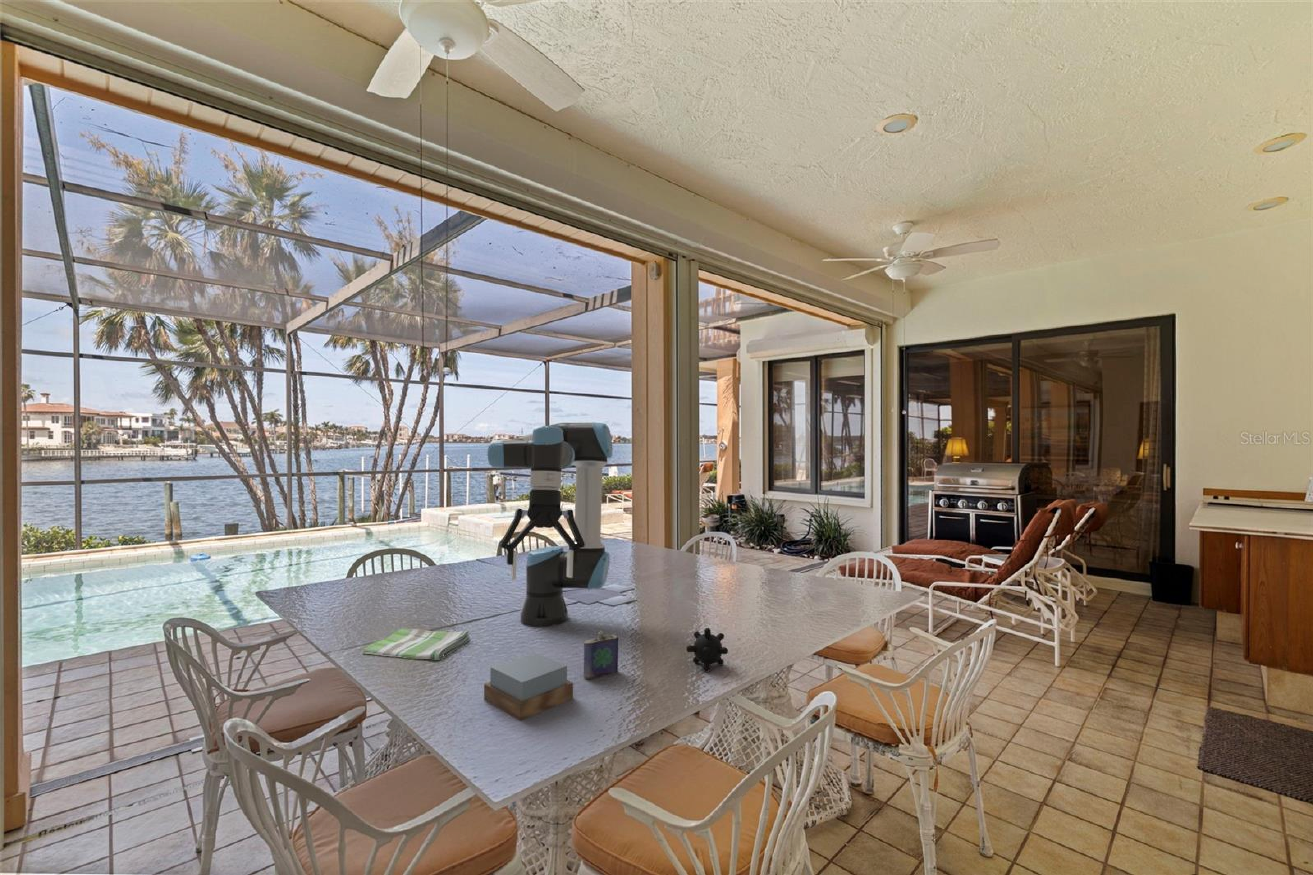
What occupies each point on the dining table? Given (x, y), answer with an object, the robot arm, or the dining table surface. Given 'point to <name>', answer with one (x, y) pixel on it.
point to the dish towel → (420, 644)
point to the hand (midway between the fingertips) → (541, 578)
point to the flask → (600, 656)
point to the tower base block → (530, 705)
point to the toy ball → (707, 648)
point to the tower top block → (528, 676)
